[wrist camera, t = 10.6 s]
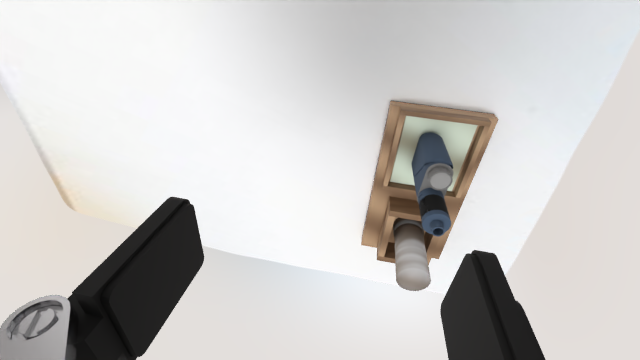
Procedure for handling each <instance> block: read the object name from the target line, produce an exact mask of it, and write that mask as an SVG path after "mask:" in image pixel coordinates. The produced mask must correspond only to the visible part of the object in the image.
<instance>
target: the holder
mask: <svg viewBox="0 0 640 360" xmlns="http://www.w3.org/2000/svg"><path fill="white" fill-rule="evenodd" d="M497 121H498V118H497V117H496V116H495V115H494V114H488V113H481V112H473V111H465V110H457V109H450V108H442V107H434V106H426V105H419V104H411V103H403V102H395V101H391V102H390V106H389V111H388V116H387V121H386V125H385V130H384V135H383V140H382V145H381V149H380V154H379V159H378V164H377V168H376V173H375V178H374V183H373V187H372V192H371V197H370V202H369V207H368V211H367V216H366V221H365V226H364V230H363V235H362V243H361V245H365V246H370V247H376V248H377V260H380V261H385V262H391V263H396V281H397V283H398V285H399V286H400V287H402V288H404V289H406V290H410V291H418V290H422V289H425V288H426V287H428V286H429V284H430V281H431V279H430V273H429V267H428V265H429V262H430V260H431V258H436V259H439V257H440V255H441V252H442V250H443V248H444V245H445V243H446V240H447V238H448V236H449V233H450V231H451V229H452V226H453V224H454V222H455V219H456V217H457V215H458V212H459V210H460V208H461V205H462V203H463V201H464V198H465V196H466V194H467V191H468V189H469V187H470V184H471V182H472V180H473V177H474V175H475V173H476V170H477V168H478V166H479V163H480V161H481V159H482V156H483V154H484V152H485V149H486V147H487V145H488V142H489V140H490V138H491V135H492V133H493V131H494V128H495V126H496V124H497ZM428 132H432V133H436V134H438V135H440V136H441V137H442V139H443V141H444V144H445V146H446V149H447V151H448V154H449V156H450V159H451V161H452V164H453V172H454V174H453V177H452V178H453V182H452V184H451V186H450V187H449V188H448V189H447V192H446V194H445V197H444V199H445V203H446V206H447V210H448V213H449V216H450V220H451V227H450V229H449V230H448V231H446V232H445V233H444V235H442V236H439V237H437V236H434V235H433V234H430V233H427V232H426V231H425V230H424V229H423V227H422V221H421V220H422V219H421V215H420V212H421V211H420V209H419V203H418V202H417V195H416V189H415V183H414V177H413V171H412V164H411V163H412V160H413V156H414V153H415V150H416V147H417V143H418V140H419V138H420V136H421V135H422V134H424V133H428Z"/></svg>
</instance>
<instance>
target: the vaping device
mask: <svg viewBox="0 0 640 360" xmlns="http://www.w3.org/2000/svg"><path fill="white" fill-rule="evenodd" d="M411 164H412V171H413V177H414V183H415V189H416V195H417V202H418V203H419V209H420V211H421V212H420V215H421V219H422V220H421V221H422V227H423V229H424V230H425V231H426V232H427V233H430V234H433V235H434V236H437V237H439V236H442V235H444V233H445V232H446V231H448V230H449V229H450V227H451V220H450V216H449V213H448V210H447V206H446V203H445V199H444V197H445V194H446V192H447V189H448V188H449V187H450V186H451V184H452V182H453V178H452V177H453V174H454V172H453V164H452V161H451V159H450V156H449V154H448V151H447V149H446V146H445V144H444V141H443V139H442V137H441V136H440V135H438V134H436V133H432V132H428V133H424V134H422V135H421V136H420V138H419V140H418V143H417V147H416V150H415V153H414V156H413V160H412V163H411Z"/></svg>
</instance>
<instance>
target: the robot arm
mask: <svg viewBox="0 0 640 360" xmlns="http://www.w3.org/2000/svg"><path fill="white" fill-rule="evenodd" d="M203 261H204V254H203V249H202V244H201V239H200V234H199V230H198V225H197V220H196V215H195V210H194V206H193V205H192V204H190V202H189V200H187V199H182V198H176V197H170V198H168V199H167V200H166V201H165V202H164V203H163V204H162V205H161V206H160V207H159V208H158V209H157V210H156V211H155V212H154V213H153V214H152V215H151V216H150V217H149V218H148V219H147V220H146V221H145V222H144V223H142V224H141V225H140V226H139V227H138V228H137V229H136V230H135V231H134V232H133V233H132V234H131V235H130V236H129V237H128V238H127V239H126V240H125V241H124V242H123V243H122V244H121V245H120V246H119V247H118V248H117V249H116V250H115V251H114V252H113V253H112V254H111V255H110V256H109V257H108V258H107V259H106V260H105V261H104V262H103V263H102V264H101V265H100V266H98V267H97V268H96V269H95V270H94V271H93V272H92V273H91V274H90V276H88V277H87V278H86V279H85V280H84V281H83V282H82V283H81V284H80V285H79V286H78V287H77V288H76V289H75V290H74V291H73V292H72V293H73V294H72V295H71V296H70V297H69V298H68V299H67V298H65V297H62V296H60V295H50V296H45V297H41V298H38V299H36V300H33V301H31V302H29V303H27V304H25V305H24V306H22V307H20V308H19V309H17V310H16V311H15V312H13V313H12V314H11V315H10V316H9V317H8V318H7V319H6V320H5V322H4V323H3V324H2V326H1V328H0V360H136V358H137V357H140V356H142V355H143V354H144V353H145V352H146V350H147V349H148V347H149V346H150V344H151V343H152V341H153V340H154V338H155V336H156V335H157V334H158V332H159V330H160V329H161V327H162V326H163V324H164V323H165V321H166V320H167V318H168V317H169V315H170V314H171V312H172V310H173V309H174V308H175V306H176V304H177V303H178V301H179V300H180V298H181V297H182V295H183V294H184V292H185V291H186V289H187V287H188V286H189V284H190V283H191V281H192V280H193V278H194V277H195V275H196V274H197V272H198V271H199V269H200V268H201V266H202V264H203ZM441 318H442V324H443V330H444V335H445V341H446V347H447V352H448V358H449V360H545V358H544V355H543V353H542V351H541V348H540V346H539V344H538V341H537V339H536V337H535V335H534V332H533V330H532V328H531V325H530V323H529V321H528V318H527V316H526V314H525V312H524V310H523V308H522V306H521V305H520V303H518V301H515V299H514V296H513V294H512V292H511V289H510V287H509V285H508V282H507V280H506V277H505V275H504V273H503V270H502V268H501V266H500V263H499V261H498V258H497V257H496V255H495V254H494V253H488V252H483V251H477V250H474V251H473V252H472V253H471V254H466V255H465V257H464V259H463V261H462V263H461V265H460V267H459V269H458V271H457V273H456V275H455V277H454V279H453V281H452V283H451V285H450V287H449V289H448V291H447V293H446V296H445V298H444V300H443V302H442V304H441Z"/></svg>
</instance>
